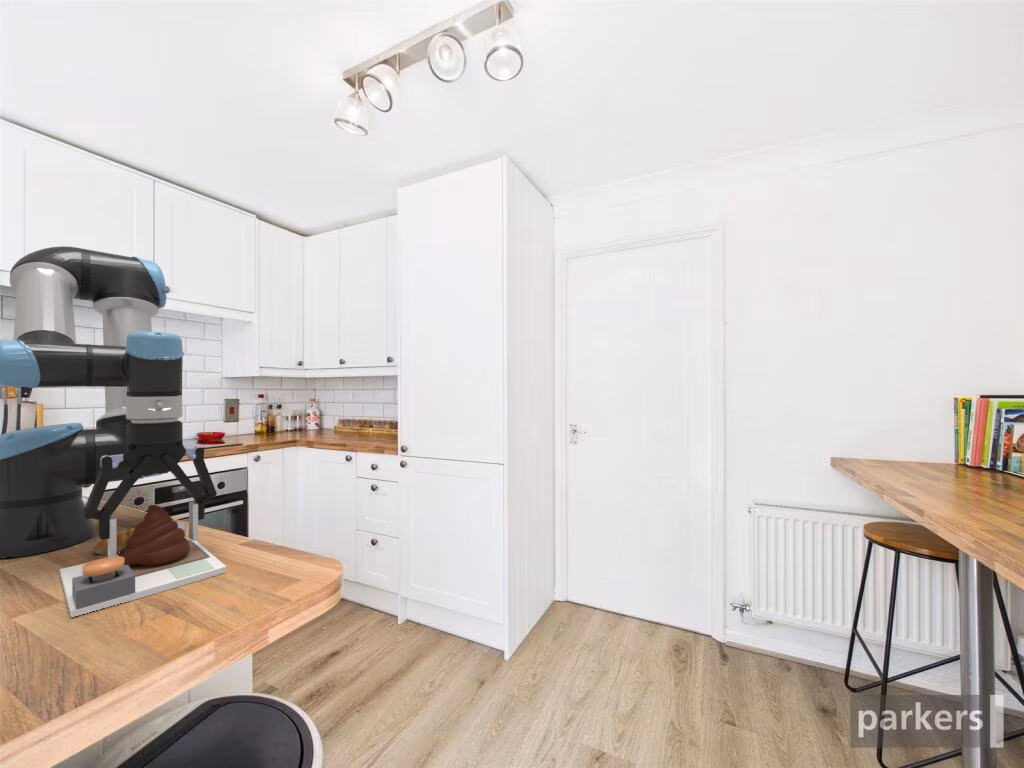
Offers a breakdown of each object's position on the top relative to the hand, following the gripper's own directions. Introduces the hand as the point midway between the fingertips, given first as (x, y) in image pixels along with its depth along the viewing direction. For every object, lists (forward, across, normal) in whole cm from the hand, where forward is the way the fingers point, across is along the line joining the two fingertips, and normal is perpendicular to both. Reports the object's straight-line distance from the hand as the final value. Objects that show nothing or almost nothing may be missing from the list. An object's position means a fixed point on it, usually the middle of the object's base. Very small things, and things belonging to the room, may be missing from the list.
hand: (155, 547), depth 73 cm
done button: (+1, -7, -10) cm, 13 cm away
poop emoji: (+2, 0, -1) cm, 2 cm away
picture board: (+3, -2, -3) cm, 5 cm away
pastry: (+4, -1, +14) cm, 15 cm away
